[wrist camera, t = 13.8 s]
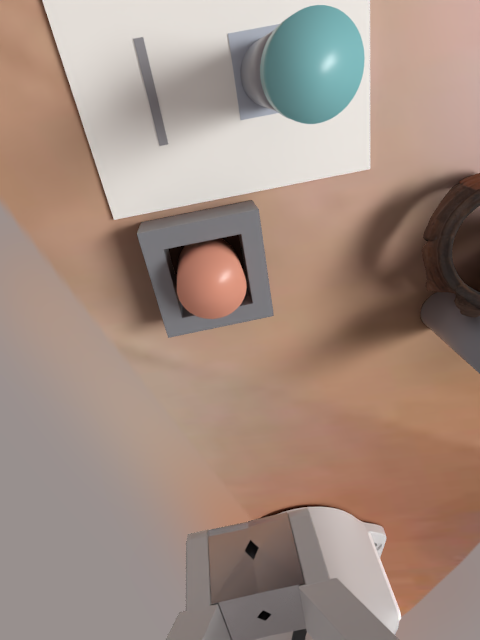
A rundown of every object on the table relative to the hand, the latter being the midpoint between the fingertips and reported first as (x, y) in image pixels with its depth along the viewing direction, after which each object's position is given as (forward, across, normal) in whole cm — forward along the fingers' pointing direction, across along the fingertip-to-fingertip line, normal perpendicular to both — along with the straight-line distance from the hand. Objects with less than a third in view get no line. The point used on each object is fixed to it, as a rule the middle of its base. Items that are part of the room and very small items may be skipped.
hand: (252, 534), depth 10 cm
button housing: (+19, 0, 0) cm, 19 cm away
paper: (+19, -3, -10) cm, 22 cm away
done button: (+18, 0, 0) cm, 18 cm away
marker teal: (+18, -5, -10) cm, 22 cm away
